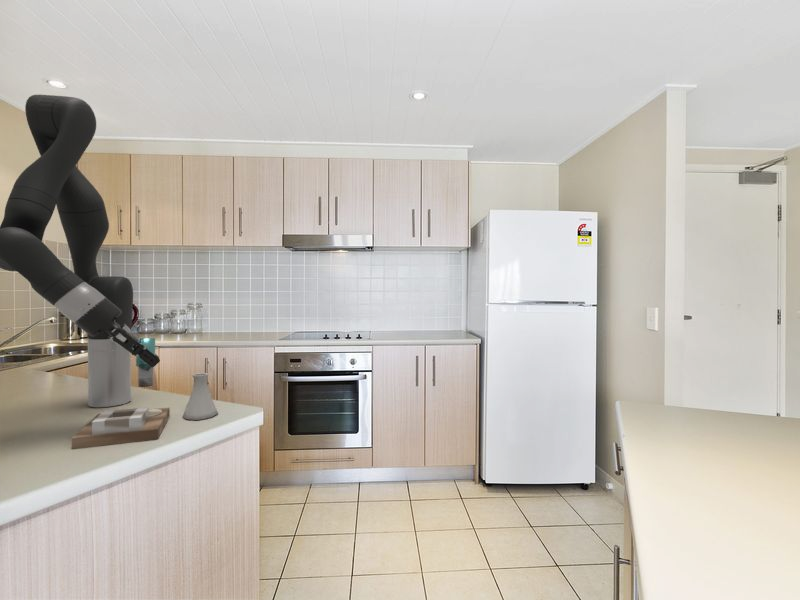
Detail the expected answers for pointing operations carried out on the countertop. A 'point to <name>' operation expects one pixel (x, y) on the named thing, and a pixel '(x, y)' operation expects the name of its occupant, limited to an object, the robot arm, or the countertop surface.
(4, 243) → the robot arm
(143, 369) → the peg
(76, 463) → the countertop surface
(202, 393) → the flask
